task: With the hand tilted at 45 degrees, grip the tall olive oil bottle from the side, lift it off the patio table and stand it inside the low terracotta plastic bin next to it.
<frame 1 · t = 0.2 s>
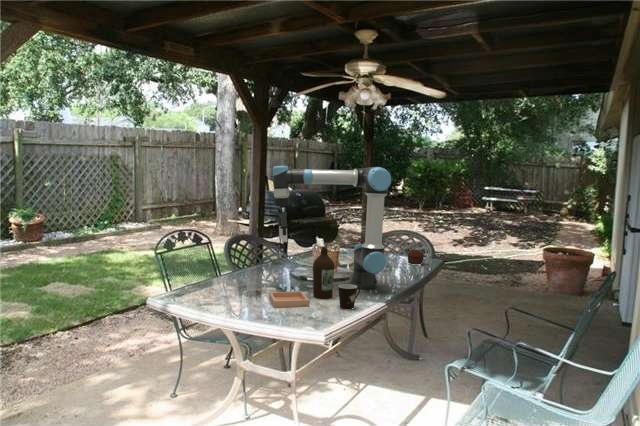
hand: (283, 240, 248), 27 cm above the table, tool pointing down, fingers open, 13 cm apart
olive oil: (322, 297, 248), on the table
coffee mug: (350, 308, 231), on the table
muffin: (415, 264, 342), on the table
bin: (288, 302, 236), on the table
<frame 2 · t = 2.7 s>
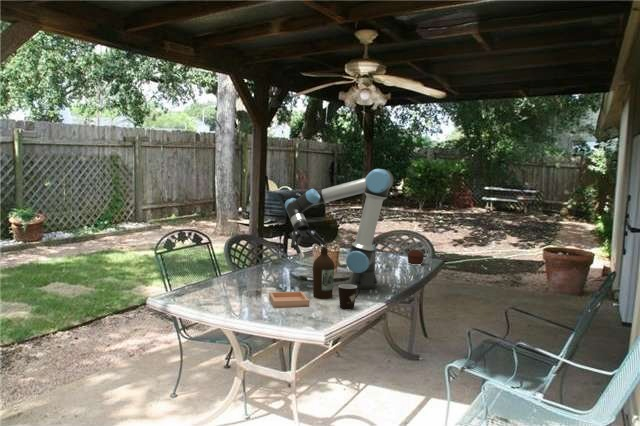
hand: (314, 257, 252), 19 cm above the table, tool tilted 45°, fingers open, 13 cm apart
nothing on the table moved.
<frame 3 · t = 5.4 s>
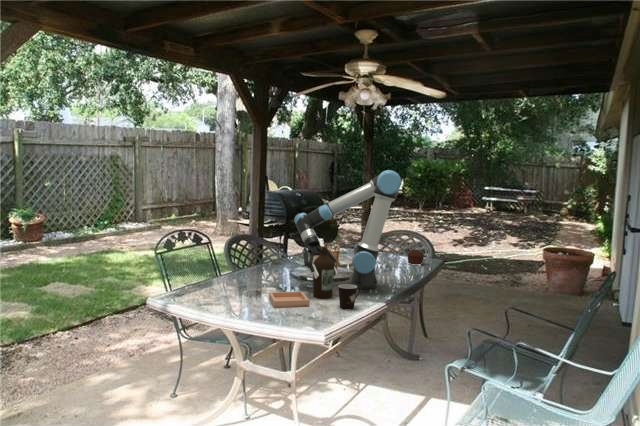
hand: (326, 275, 245), 11 cm above the table, tool tilted 45°, fingers closed on olive oil, 10 cm apart
olive oil: (322, 297, 248), on the table, touching gripper
everything else where it was.
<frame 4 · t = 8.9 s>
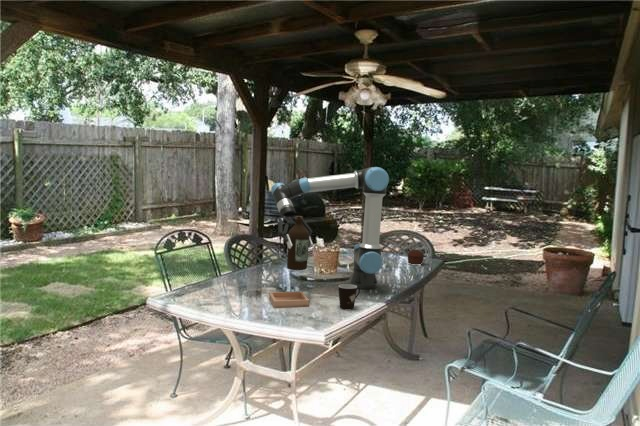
hand: (301, 246, 236), 26 cm above the table, tool tilted 45°, fingers closed on olive oil, 10 cm apart
olive oil: (296, 268, 239), point 15 cm above the table, touching gripper
everything else where it was.
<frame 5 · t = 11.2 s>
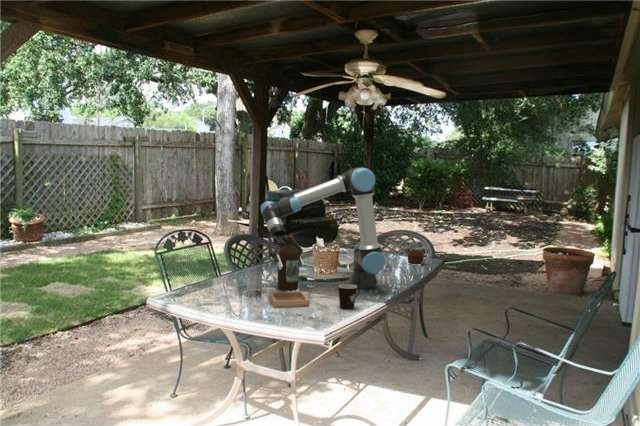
hand: (291, 266, 232), 17 cm above the table, tool tilted 45°, fingers closed on olive oil, 10 cm apart
olive oil: (287, 289, 235), point 6 cm above the table, touching gripper
everything else where it was.
when the fingers open (13 cm above the table, at t = 12.8 s): olive oil drops 1 cm, resting on bin.
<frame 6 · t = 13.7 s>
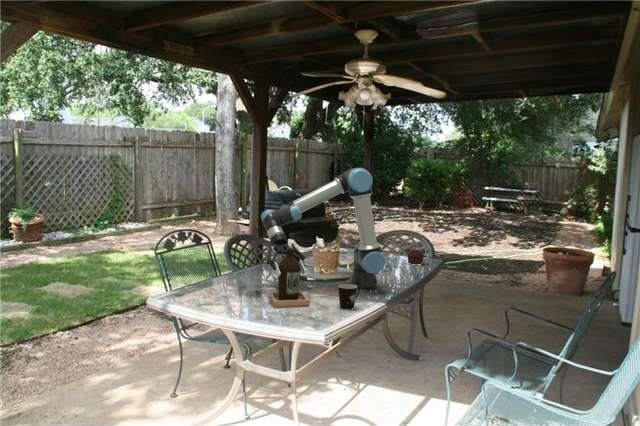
hand: (291, 274, 233), 14 cm above the table, tool tilted 45°, fingers open, 13 cm apart
olive oil: (288, 301, 236), point 1 cm above the table, touching bin
everything else where it was.
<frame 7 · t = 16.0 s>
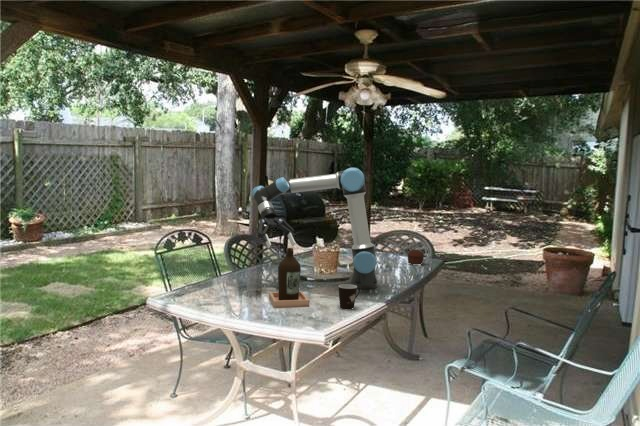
hand: (281, 245, 245), 25 cm above the table, tool tilted 45°, fingers open, 13 cm apart
nothing on the table moved.
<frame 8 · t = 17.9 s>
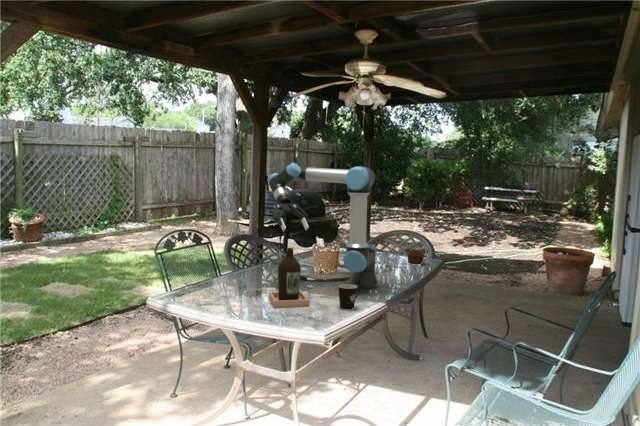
hand: (296, 229, 258), 32 cm above the table, tool tilted 45°, fingers open, 13 cm apart
nothing on the table moved.
at the end: olive oil inside the target area on the bin (0.1 cm from its centre), point 0.6 cm above the bin's base; olive oil tilted 0°; the gripper is holding nothing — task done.
